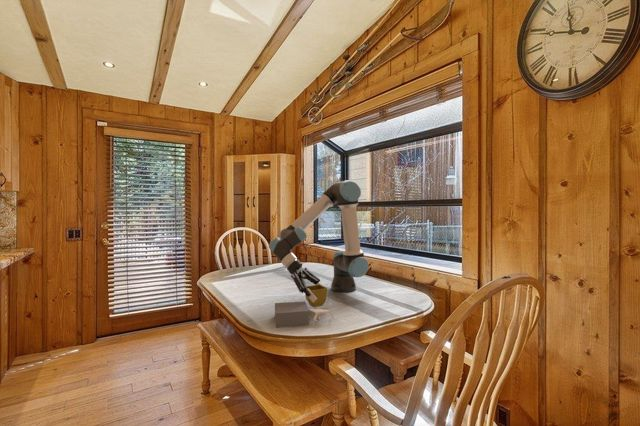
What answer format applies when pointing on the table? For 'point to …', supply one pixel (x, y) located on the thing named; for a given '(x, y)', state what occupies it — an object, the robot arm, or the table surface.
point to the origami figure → (319, 311)
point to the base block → (291, 314)
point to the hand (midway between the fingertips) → (320, 297)
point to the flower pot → (317, 295)
